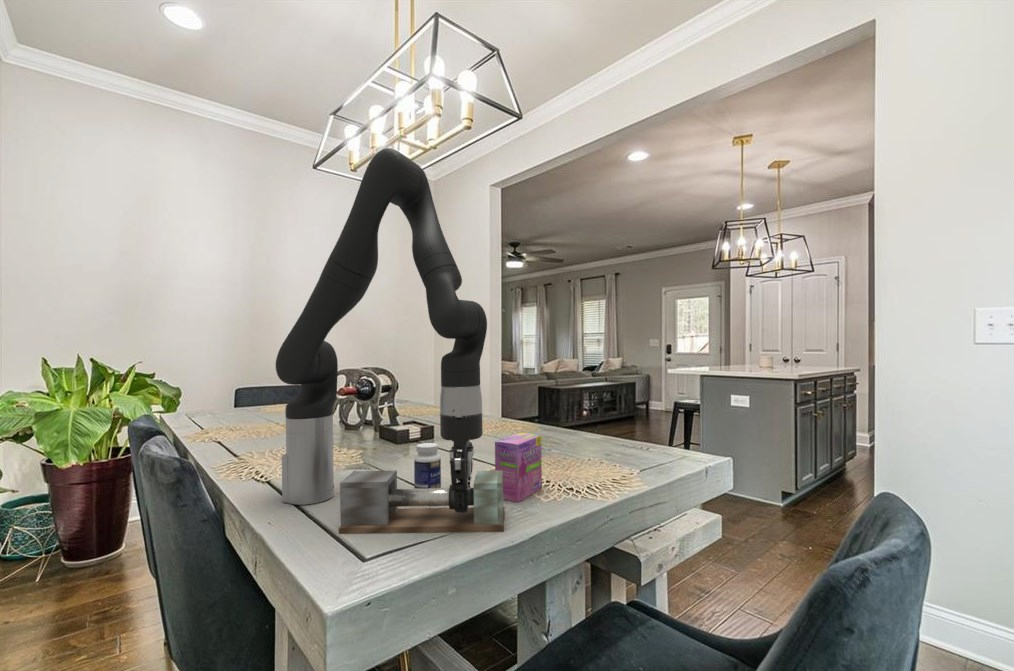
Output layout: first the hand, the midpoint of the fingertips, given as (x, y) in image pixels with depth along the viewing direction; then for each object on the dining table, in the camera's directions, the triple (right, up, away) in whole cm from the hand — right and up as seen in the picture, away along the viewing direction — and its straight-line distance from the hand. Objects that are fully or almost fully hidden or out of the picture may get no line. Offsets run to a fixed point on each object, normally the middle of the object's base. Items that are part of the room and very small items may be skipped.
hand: (462, 506), depth 84 cm
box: (+11, -3, +15) cm, 19 cm away
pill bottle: (-9, -3, +19) cm, 21 cm away
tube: (-4, 0, 0) cm, 4 cm away
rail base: (-7, -3, 0) cm, 7 cm away
